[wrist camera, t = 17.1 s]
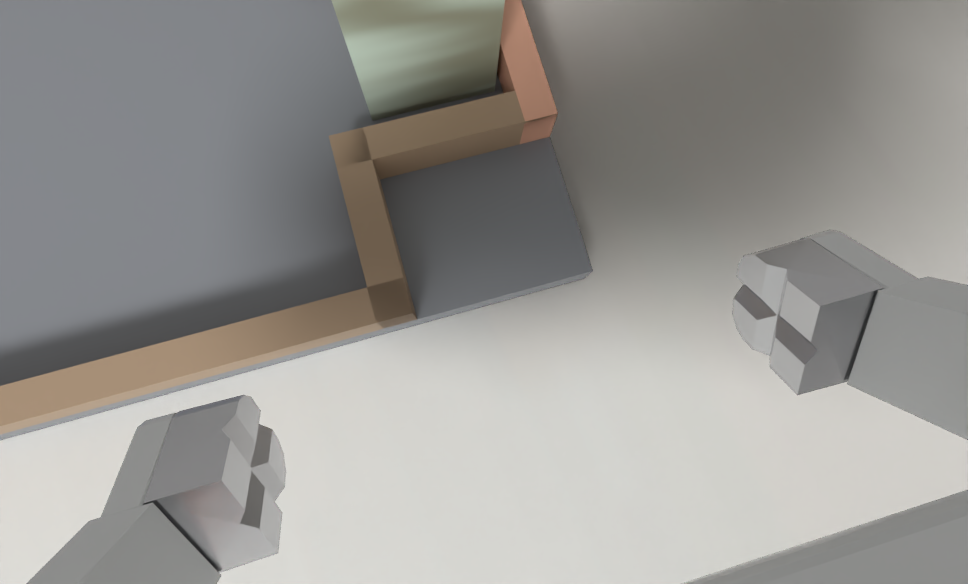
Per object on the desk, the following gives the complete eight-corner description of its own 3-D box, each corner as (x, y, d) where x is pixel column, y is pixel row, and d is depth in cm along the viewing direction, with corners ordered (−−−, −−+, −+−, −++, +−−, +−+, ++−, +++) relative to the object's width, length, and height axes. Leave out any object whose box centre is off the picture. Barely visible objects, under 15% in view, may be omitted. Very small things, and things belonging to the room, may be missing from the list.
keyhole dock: (446, -152, 20) (444, -234, 17) (583, 278, 17) (606, 259, 15) (-276, -7, 18) (-405, -75, 15) (-240, 506, 15) (-386, 532, 13)
